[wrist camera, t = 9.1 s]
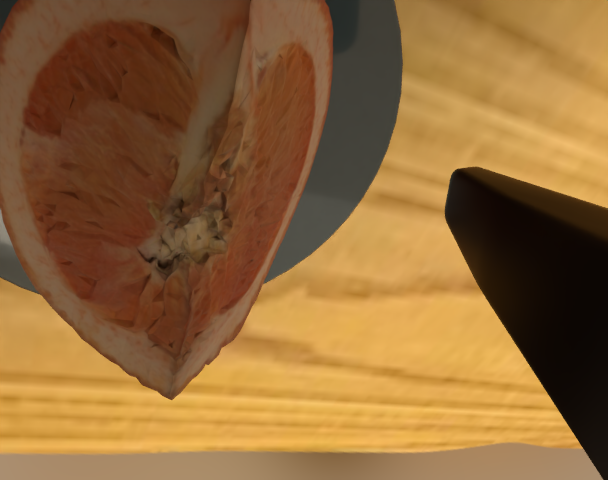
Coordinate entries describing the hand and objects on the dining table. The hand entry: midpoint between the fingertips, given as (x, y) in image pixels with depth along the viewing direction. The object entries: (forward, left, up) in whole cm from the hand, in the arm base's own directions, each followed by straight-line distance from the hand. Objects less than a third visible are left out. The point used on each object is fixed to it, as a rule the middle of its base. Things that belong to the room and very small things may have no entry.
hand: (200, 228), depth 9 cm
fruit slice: (0, 0, -5) cm, 5 cm away
